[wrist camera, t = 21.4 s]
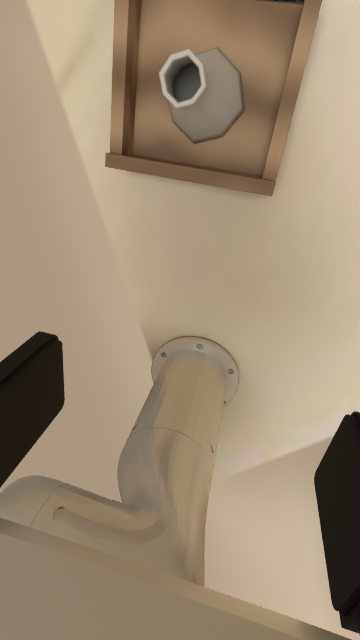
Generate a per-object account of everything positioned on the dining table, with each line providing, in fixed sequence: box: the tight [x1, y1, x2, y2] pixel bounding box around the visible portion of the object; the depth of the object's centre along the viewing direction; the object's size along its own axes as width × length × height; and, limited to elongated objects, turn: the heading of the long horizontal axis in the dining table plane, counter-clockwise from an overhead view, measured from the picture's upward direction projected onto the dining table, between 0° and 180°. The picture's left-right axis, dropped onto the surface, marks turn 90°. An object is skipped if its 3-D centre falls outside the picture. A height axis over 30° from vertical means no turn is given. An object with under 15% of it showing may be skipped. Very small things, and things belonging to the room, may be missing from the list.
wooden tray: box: [105, 0, 322, 196], centre depth 30 cm, size 14×16×6 cm
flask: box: [159, 47, 245, 144], centre depth 27 cm, size 7×7×10 cm
